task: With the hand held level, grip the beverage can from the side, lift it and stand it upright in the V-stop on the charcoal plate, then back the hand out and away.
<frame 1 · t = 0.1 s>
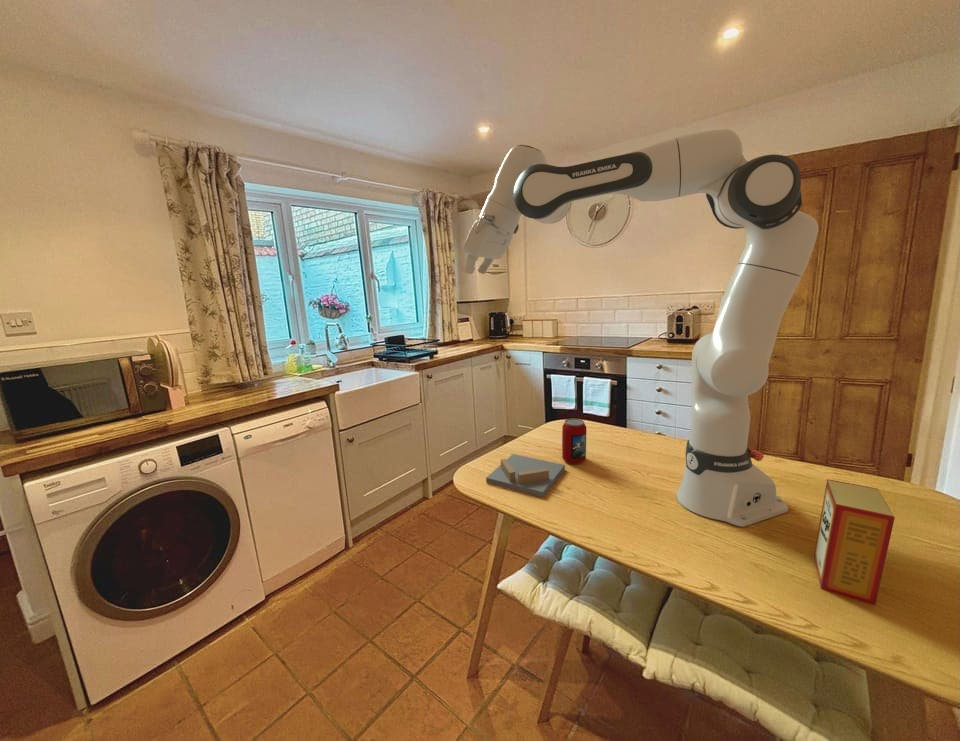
hand: (474, 273, 97), 54 cm above the table, tool tilted 30°, fingers open, 8 cm apart
beverage can: (573, 460, 115), on the table
v stop plate: (526, 476, 107), on the table
baking soda box: (841, 579, 68), on the table
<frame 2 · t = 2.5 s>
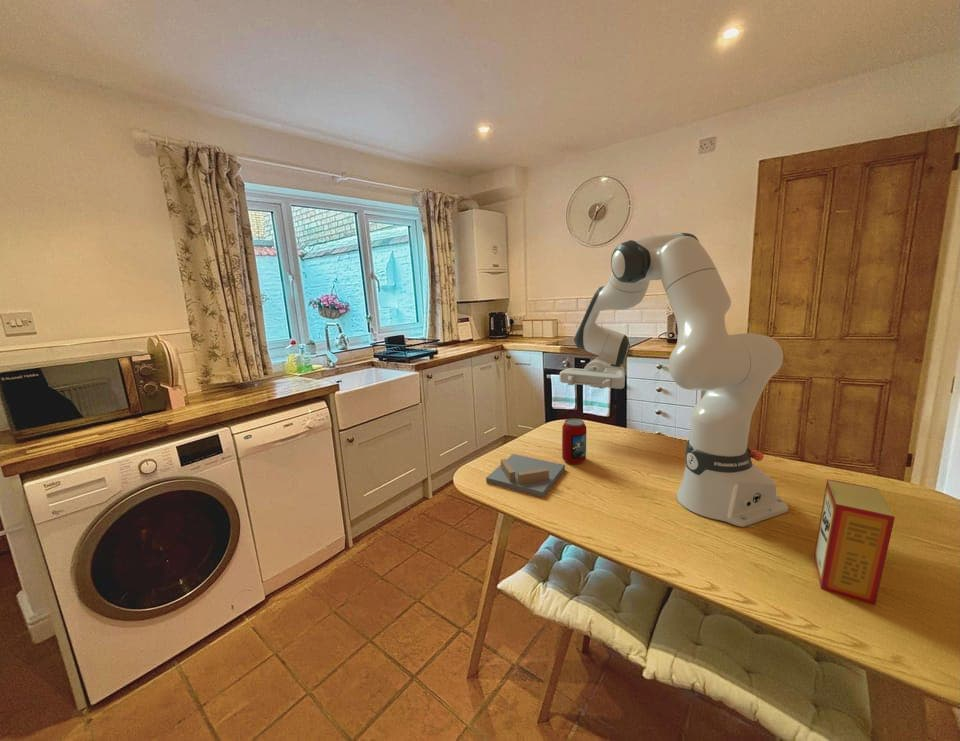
hand: (585, 384, 119), 20 cm above the table, tool horizontal, fingers open, 8 cm apart
nothing on the table moved.
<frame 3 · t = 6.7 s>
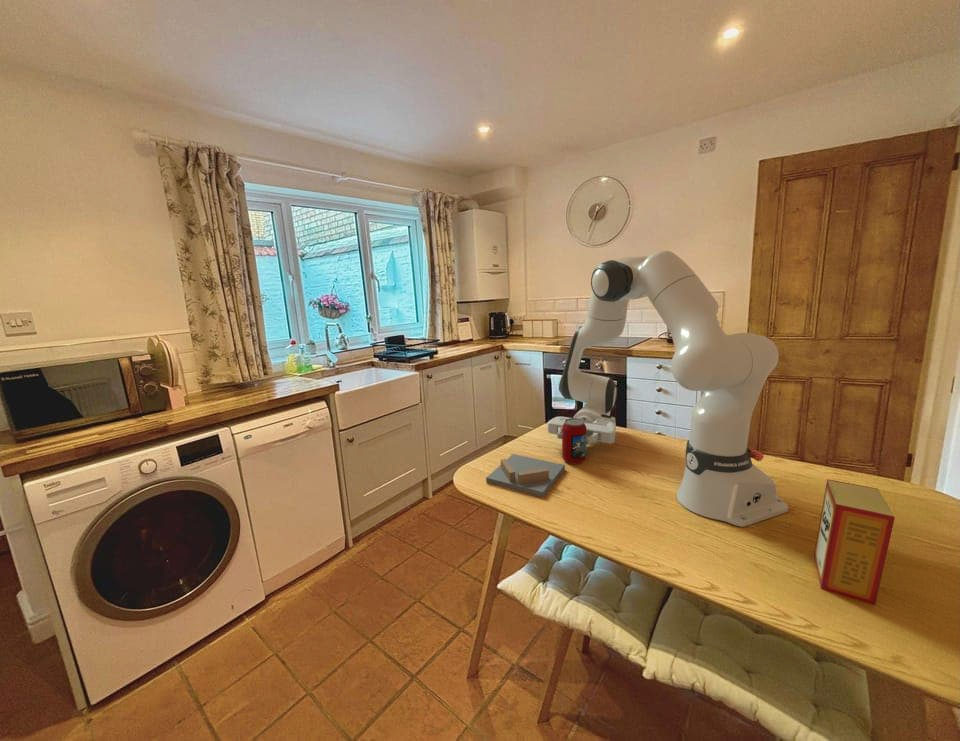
hand: (573, 438, 112), 7 cm above the table, tool horizontal, fingers closed on beverage can, 7 cm apart
beverage can: (573, 460, 115), on the table, touching gripper
everything else where it was.
when the fingers open (10 cm above the table, at t = 11.9 s): beverage can stays where it is, resting on v stop plate.
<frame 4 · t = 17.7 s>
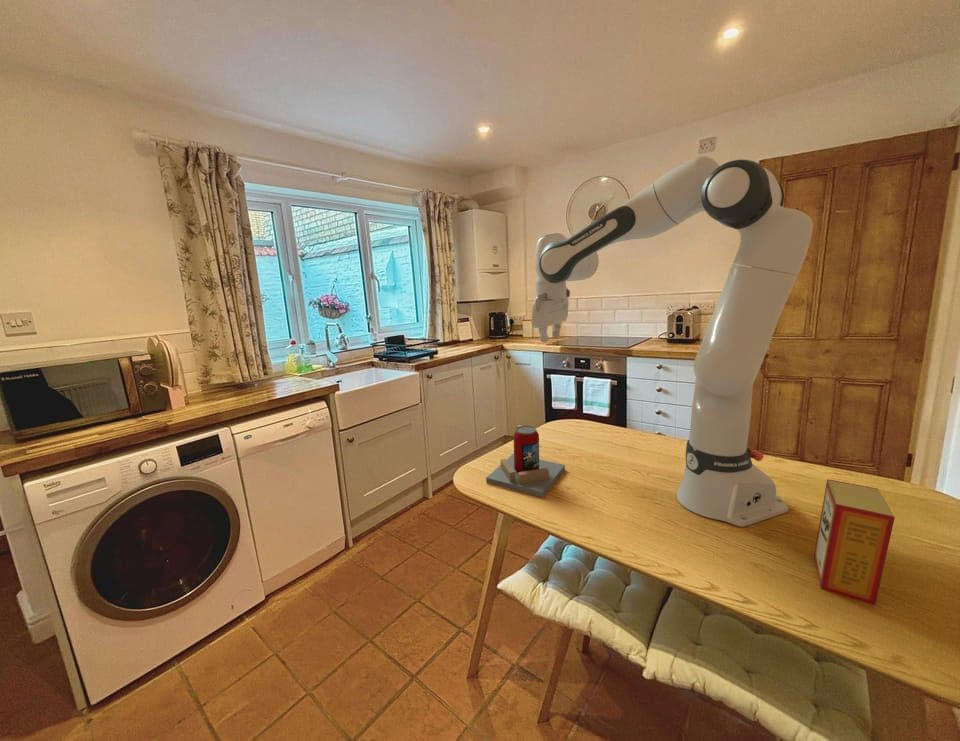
hand: (550, 339, 118), 34 cm above the table, tool pointing down, fingers open, 8 cm apart
beverage can: (526, 471, 107), point 1 cm above the table, touching v stop plate
everything else where it was.
at the end: beverage can 0.1 cm off-centre on the v stop plate, point 1.3 cm above the v stop plate's base; beverage can tilted 0°; the gripper is holding nothing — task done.
